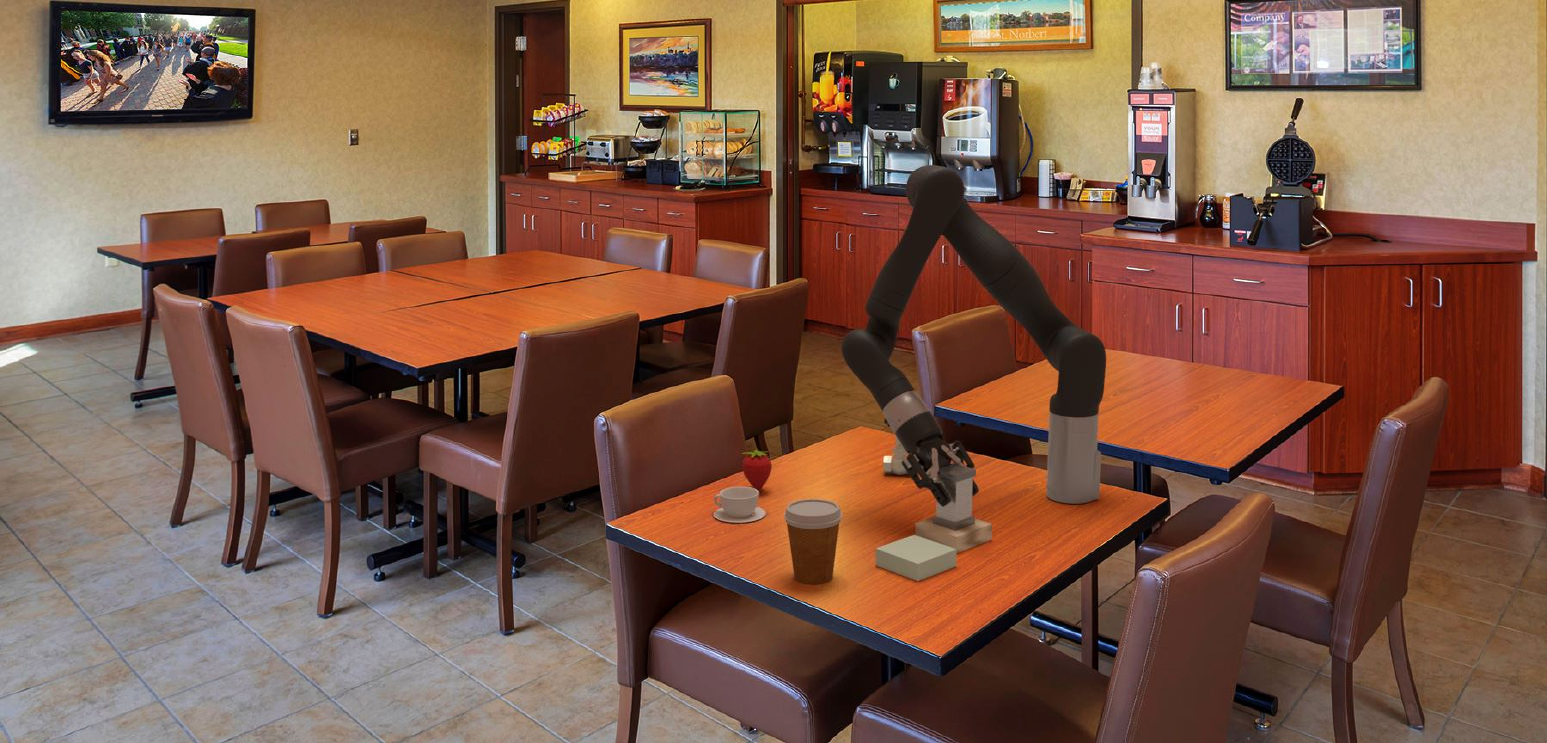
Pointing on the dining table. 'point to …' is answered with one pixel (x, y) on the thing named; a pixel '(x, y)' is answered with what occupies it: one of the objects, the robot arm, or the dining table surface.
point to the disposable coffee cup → (813, 538)
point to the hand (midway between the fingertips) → (961, 499)
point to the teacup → (738, 505)
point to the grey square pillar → (956, 497)
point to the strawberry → (756, 468)
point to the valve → (895, 458)
